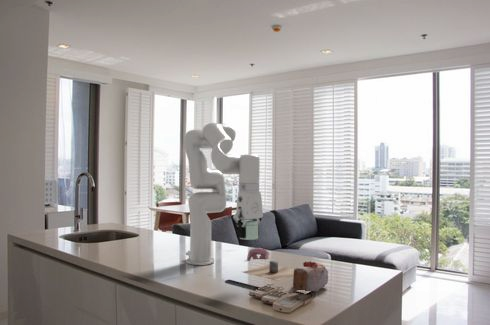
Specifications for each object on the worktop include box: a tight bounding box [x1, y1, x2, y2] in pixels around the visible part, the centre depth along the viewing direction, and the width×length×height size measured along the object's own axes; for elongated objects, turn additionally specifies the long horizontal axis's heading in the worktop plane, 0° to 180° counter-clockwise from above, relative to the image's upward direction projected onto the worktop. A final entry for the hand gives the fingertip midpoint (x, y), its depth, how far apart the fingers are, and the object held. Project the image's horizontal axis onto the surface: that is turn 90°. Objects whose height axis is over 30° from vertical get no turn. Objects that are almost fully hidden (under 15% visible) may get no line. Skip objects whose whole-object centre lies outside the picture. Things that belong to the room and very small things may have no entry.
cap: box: [239, 219, 259, 241], centre depth 146 cm, size 7×7×6 cm
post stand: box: [242, 260, 295, 282], centre depth 157 cm, size 18×18×6 cm
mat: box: [224, 279, 261, 291], centre depth 145 cm, size 14×10×1 cm
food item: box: [292, 261, 329, 293], centre depth 139 cm, size 14×8×10 cm, turn 140°
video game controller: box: [246, 247, 270, 262], centre depth 183 cm, size 10×5×7 cm, turn 75°
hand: (248, 236), depth 146 cm, fingers closed on cap, 6 cm apart
